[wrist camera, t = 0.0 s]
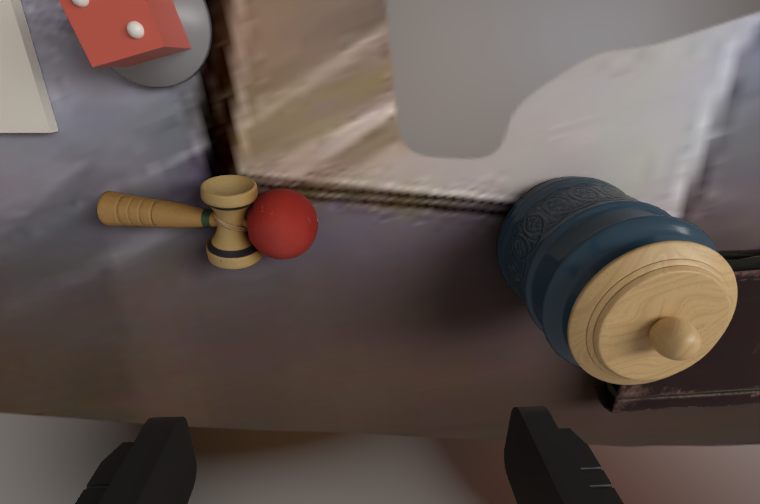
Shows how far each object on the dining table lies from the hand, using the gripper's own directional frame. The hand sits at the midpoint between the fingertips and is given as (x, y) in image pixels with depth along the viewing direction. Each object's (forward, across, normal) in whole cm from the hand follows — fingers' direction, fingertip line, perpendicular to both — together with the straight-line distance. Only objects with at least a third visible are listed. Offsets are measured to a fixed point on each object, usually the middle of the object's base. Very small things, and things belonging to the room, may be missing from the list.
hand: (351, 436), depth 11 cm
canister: (+30, -20, +7) cm, 36 cm away
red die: (+29, +15, -11) cm, 35 cm away
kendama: (+30, +12, +4) cm, 32 cm away
